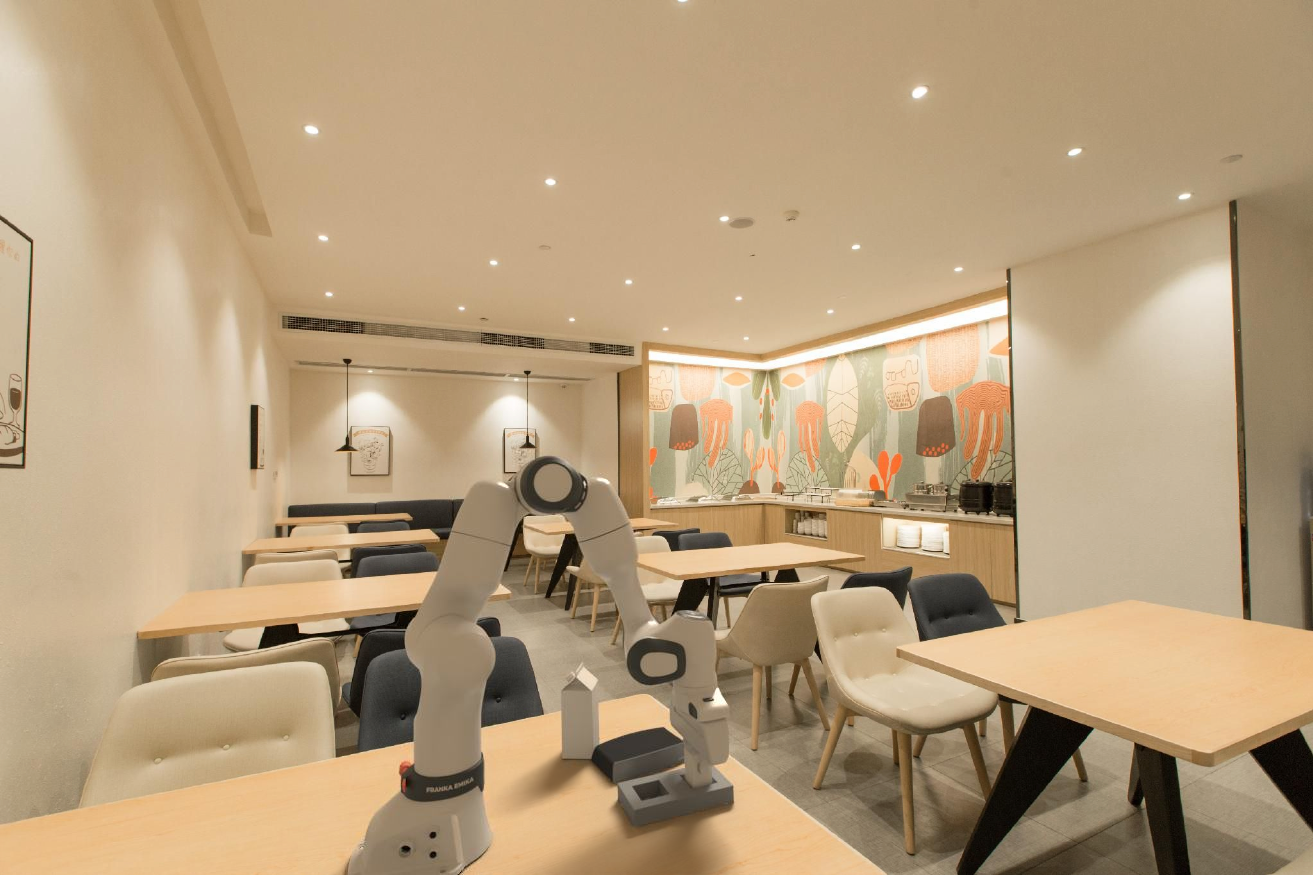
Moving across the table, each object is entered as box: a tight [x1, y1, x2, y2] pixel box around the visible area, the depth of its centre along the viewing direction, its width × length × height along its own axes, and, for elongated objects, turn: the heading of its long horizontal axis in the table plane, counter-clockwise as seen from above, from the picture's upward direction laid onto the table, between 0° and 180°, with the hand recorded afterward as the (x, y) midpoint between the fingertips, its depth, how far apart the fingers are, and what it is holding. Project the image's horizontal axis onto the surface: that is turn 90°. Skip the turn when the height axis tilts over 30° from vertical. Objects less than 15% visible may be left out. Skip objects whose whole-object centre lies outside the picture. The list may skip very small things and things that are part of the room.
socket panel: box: [617, 765, 735, 828], centre depth 112 cm, size 20×10×3 cm, turn 111°
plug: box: [683, 746, 712, 789], centre depth 115 cm, size 4×4×9 cm
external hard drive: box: [590, 726, 685, 784], centre depth 129 cm, size 13×19×4 cm
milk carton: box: [560, 661, 600, 760], centre depth 134 cm, size 7×7×19 cm
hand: (697, 767), depth 115 cm, fingers closed on plug, 4 cm apart
